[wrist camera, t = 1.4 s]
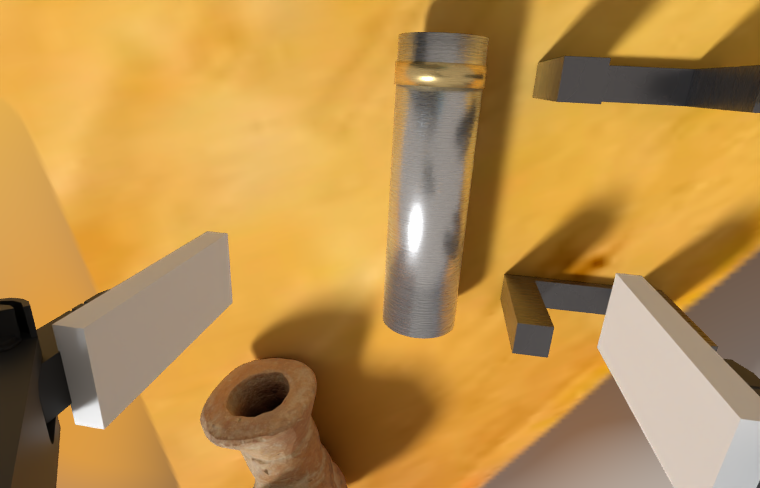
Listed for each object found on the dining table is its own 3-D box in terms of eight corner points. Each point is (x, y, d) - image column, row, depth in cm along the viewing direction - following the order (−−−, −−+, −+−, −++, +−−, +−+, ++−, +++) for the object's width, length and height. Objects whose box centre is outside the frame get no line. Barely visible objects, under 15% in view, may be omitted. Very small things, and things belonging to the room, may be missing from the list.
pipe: (324, 342, 36) (279, 431, 27) (380, 493, 41) (359, 614, 32) (227, 360, 38) (155, 448, 29) (291, 501, 43) (247, 617, 34)
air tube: (402, 39, 28) (391, 30, 23) (487, 42, 27) (494, 34, 22) (386, 297, 34) (375, 333, 29) (455, 305, 33) (455, 343, 29)
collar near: (538, 62, 27) (568, 54, 20) (726, 71, 26) (833, 66, 18) (532, 97, 28) (560, 102, 20) (715, 107, 26) (815, 116, 19)
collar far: (504, 274, 32) (517, 322, 25) (661, 290, 30) (717, 346, 24) (500, 299, 33) (512, 353, 26) (654, 316, 31) (706, 377, 25)
